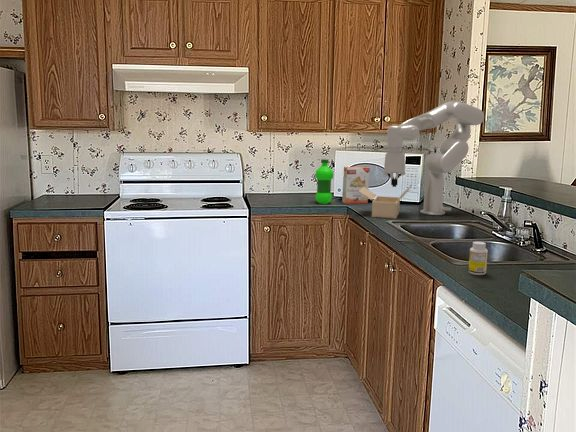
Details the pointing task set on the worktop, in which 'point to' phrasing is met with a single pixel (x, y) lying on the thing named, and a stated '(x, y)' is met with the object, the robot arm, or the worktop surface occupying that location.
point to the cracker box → (355, 184)
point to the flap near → (404, 193)
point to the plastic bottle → (324, 183)
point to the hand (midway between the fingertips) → (394, 186)
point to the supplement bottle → (478, 258)
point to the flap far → (367, 193)
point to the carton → (385, 207)
